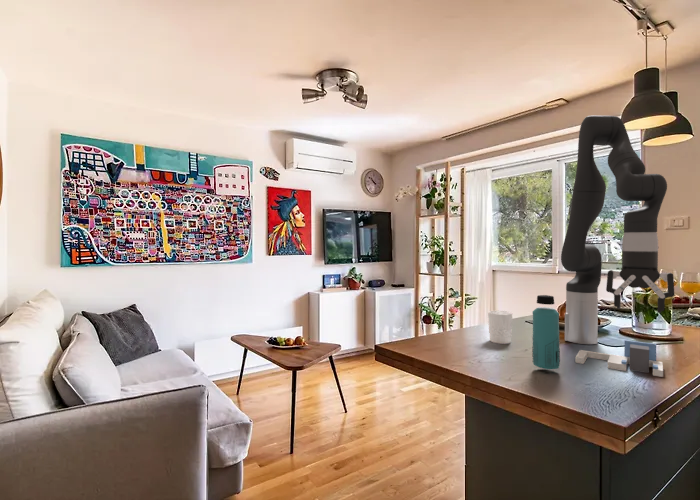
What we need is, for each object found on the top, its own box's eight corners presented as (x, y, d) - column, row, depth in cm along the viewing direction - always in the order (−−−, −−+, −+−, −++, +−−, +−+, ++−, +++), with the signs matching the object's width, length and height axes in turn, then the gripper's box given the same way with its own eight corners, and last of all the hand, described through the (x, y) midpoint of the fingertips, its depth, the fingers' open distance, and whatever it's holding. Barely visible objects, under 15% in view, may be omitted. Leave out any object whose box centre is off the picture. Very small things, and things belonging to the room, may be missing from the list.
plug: (629, 369, 99) (629, 347, 99) (630, 366, 102) (630, 344, 102) (648, 373, 97) (649, 349, 97) (648, 369, 100) (649, 346, 100)
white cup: (514, 340, 130) (514, 311, 130) (510, 345, 124) (510, 315, 124) (490, 337, 135) (490, 309, 134) (485, 342, 128) (485, 313, 128)
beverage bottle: (559, 377, 94) (559, 297, 94) (530, 372, 97) (530, 295, 97) (560, 369, 100) (560, 294, 99) (533, 365, 103) (533, 293, 103)
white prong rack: (575, 362, 105) (575, 341, 105) (580, 354, 114) (580, 334, 113) (663, 377, 94) (663, 353, 93) (662, 366, 102) (662, 344, 102)
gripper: (605, 249, 101) (604, 309, 101) (675, 250, 92) (674, 316, 92) (608, 249, 107) (607, 305, 107) (674, 249, 98) (673, 311, 98)
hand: (638, 310), depth 100 cm, fingers open, 8 cm apart
